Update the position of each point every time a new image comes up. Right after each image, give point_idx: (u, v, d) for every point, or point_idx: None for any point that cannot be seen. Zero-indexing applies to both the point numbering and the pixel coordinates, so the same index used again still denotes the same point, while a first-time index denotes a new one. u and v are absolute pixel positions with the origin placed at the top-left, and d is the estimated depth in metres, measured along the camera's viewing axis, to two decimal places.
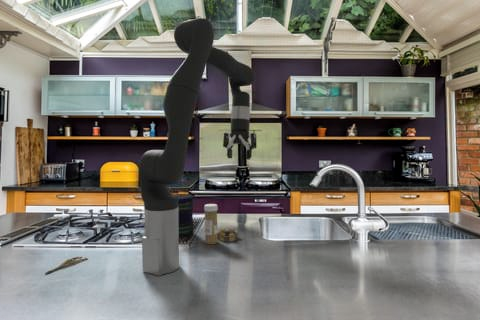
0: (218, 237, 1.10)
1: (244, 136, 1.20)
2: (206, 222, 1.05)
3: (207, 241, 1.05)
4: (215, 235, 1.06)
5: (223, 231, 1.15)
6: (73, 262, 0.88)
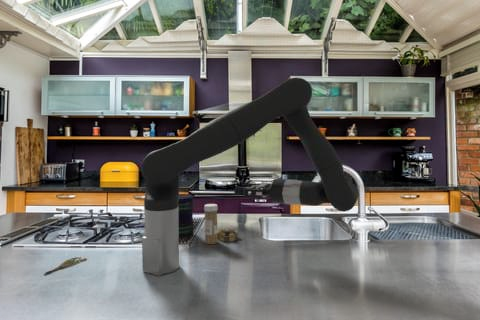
0: (218, 237, 1.10)
1: (262, 188, 0.94)
2: (206, 222, 1.05)
3: (207, 241, 1.05)
4: (215, 235, 1.06)
5: (223, 231, 1.15)
6: (73, 263, 0.88)
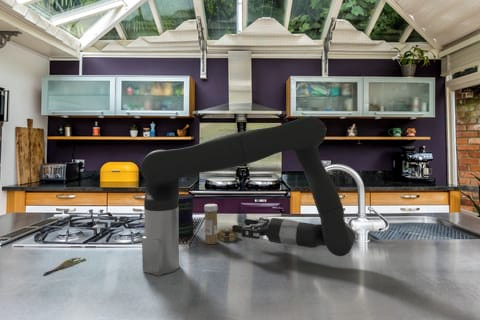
0: (218, 237, 1.10)
1: (260, 227, 0.95)
2: (206, 222, 1.05)
3: (207, 241, 1.05)
4: (215, 235, 1.06)
5: (223, 231, 1.15)
6: (72, 263, 0.88)
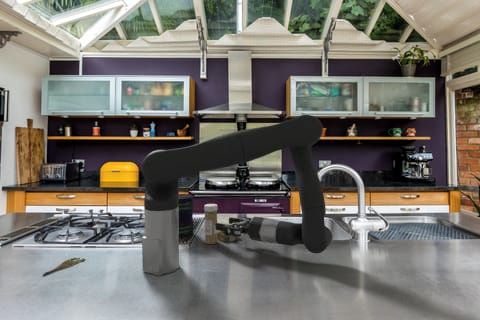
0: (218, 237, 1.10)
1: (242, 225, 0.97)
2: (206, 222, 1.05)
3: (207, 241, 1.05)
4: (215, 235, 1.06)
5: (223, 231, 1.15)
6: (71, 263, 0.88)
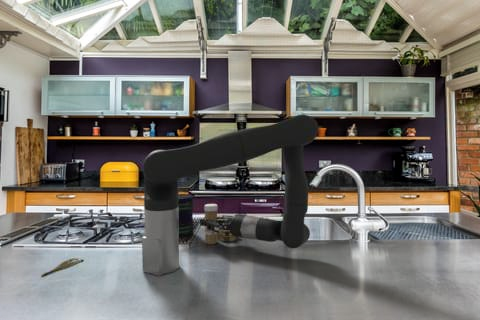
0: (218, 237, 1.10)
1: (224, 222, 1.01)
2: None
3: (207, 241, 1.05)
4: (215, 235, 1.06)
5: (223, 231, 1.15)
6: (70, 264, 0.87)
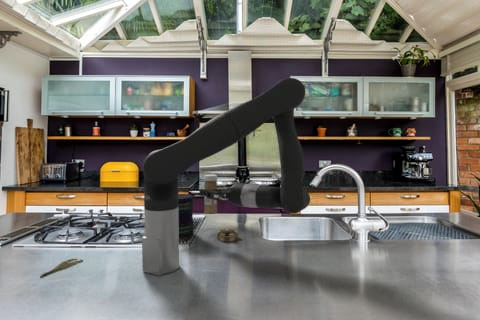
0: (218, 237, 1.10)
1: (223, 191, 1.00)
2: None
3: (207, 211, 1.05)
4: (215, 205, 1.05)
5: (223, 231, 1.15)
6: (69, 264, 0.87)
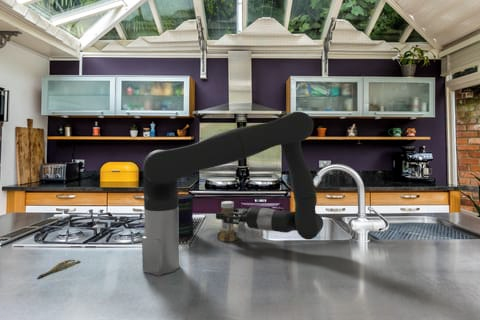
0: (218, 237, 1.10)
1: (240, 214, 1.05)
2: None
3: None
4: (232, 231, 1.11)
5: None
6: (66, 265, 0.86)
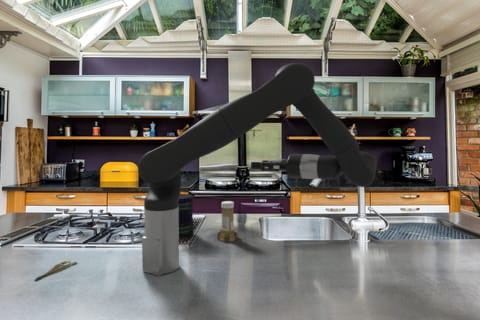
0: (218, 237, 1.10)
1: (279, 162, 0.94)
2: (223, 218, 1.10)
3: None
4: (232, 231, 1.11)
5: None
6: (63, 267, 0.85)
